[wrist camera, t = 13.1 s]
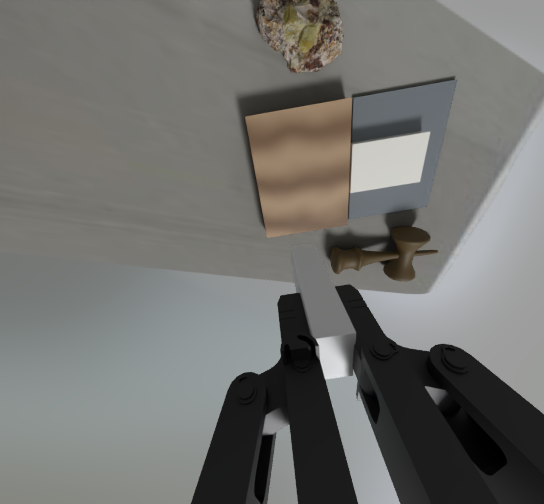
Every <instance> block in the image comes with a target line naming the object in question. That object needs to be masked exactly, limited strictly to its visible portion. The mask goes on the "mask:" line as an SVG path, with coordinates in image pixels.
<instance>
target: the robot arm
mask: <svg viewBox="0 0 544 504" xmlns="http://www.w3.org/2000/svg"><path fill="white" fill-rule="evenodd" d="M290 252H291V260H292V269H293V277H294V283H295V287H296V292H297V293H294V294H287V295H281V296H280V299H279V301H278V312H279V322H280V331H281V340H282V344H281V349H280V351H281V358H280V360H279V361H278V363H277V364H276V365H275V366H274V367H272V368H271V369H269V370H267V371H265V372H263V373H261V374H259V375H258V374H256V373H253V372H247V373H243V374H241V375H239V376H238V377H236V379H235V380H234V381H232V383H231V385H230V387H229V389H228V391H227V394H226V398H225V401H224V404H223V407H222V410H221V413H220V416H219V419H218V422H217V425H216V428H215V431H214V434H213V438H212V441H211V444H210V447H209V450H208V453H207V456H206V459H205V462H204V465H203V469H202V471H201V474H200V477H199V481H198V484H197V487H196V490H195V493H194V496H193V499H192V502H191V504H267V500H268V493H269V485H270V477H271V469H272V462H273V454H274V446H275V439H276V432H277V431H279V430H280V429H282V428H284V427H285V426H287V425H289V424H290V432H291V442H292V451H293V460H294V469H295V479H296V488H297V496H298V504H358V502H357V498H356V494H355V490H354V487H353V483H352V479H351V475H350V471H349V468H348V464H347V460H346V457H345V453H344V449H343V445H342V442H341V438H340V434H339V430H338V426H337V422H336V419H335V415H334V411H333V408H332V404H331V400H330V396H329V392H328V389H327V385H326V381H325V379H331V378H338V377H345V376H352V375H353V369H354V372H355V374H356V377H357V379H358V383H357V393H356V395H357V400H358V401H360V398H361V399H362V402H363V404H364V407H365V410H366V413H367V415H368V418H369V421H370V423H371V426H372V429H373V431H374V434H375V437H376V439H377V442H378V445H379V448H380V450H381V453H382V456H383V458H384V461H385V464H386V466H387V469H388V472H389V474H390V477H391V480H392V482H393V485H394V488H395V490H396V493H397V496H398V498H399V501H400V503H401V504H544V414H543V413H541V412H540V411H539V410H538V409H536V408H535V407H534V406H533V405H532V404H530V403H529V402H528V401H526V400H525V399H524V398H523V397H522V396H521V395H519V394H518V393H517V392H516V391H514V390H513V389H512V388H511V387H509V386H508V385H507V384H506V383H505V382H503V381H502V380H501V379H500V378H498V377H497V376H496V375H495V374H493V373H492V372H491V371H490V370H488V369H487V368H486V367H485V366H484V365H482V364H481V363H480V362H479V361H477V360H476V359H475V358H474V357H472V356H471V355H470V354H468V353H467V352H465V351H464V350H462V349H460V348H458V347H455V346H453V345H447V344H438V345H435V346H434V347H432V348H431V349H430V352H429V351H422V350H416V349H409V348H405V347H402V346H399V345H397V344H396V343H395V342H394V341H393V340H391V339H389V338H388V337H386V335H385V334H384V333H383V331H382V330H381V328H380V326H379V325H378V323H377V321H376V319H375V318H374V316H373V314H372V313H371V311H370V310H369V308H368V307H367V305H366V303H365V301H364V300H363V298H362V296H361V295H360V293H359V291H358V290H357V289H355V288H354V287H353V286H351V285H350V284H349V285H342V286H336V287H335V286H334V284H333V282H332V280H331V278H330V276H329V274H328V272H327V269H326V267H325V265H324V263H323V261H322V259H321V257H320V255H319V252H318V250H317V248H316V246H315V244H314V243H311V244H304V245H298V246H292V247H290Z"/></svg>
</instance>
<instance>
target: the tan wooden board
mask: <svg viewBox="0 0 544 504" xmlns="http://www.w3.org/2000/svg"><path fill="white" fill-rule="evenodd" d="M351 116H352V98H347V99H341V100H335V101H330V102H324V103H318V104H313V105H307V106H302V107H296V108H290V109H285V110H279V111H274V112H268V113H262V114H257V115H251V116H246V117H245V119H246V125H247V130H248V136H249V141H250V147H251V152H252V157H253V163H254V168H255V174H256V179H257V185H258V190H259V196H260V201H261V207H262V212H263V218H264V223H265V228H266V234H267V238H269V237H275V236H281V235H287V234H294V233H300V232H306V231H312V230H319V229H325V228H331V227H337V226H343V225H348V198H349V170H350V143H351Z"/></svg>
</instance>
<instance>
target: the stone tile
mask: <svg viewBox="0 0 544 504" xmlns="http://www.w3.org/2000/svg"><path fill="white" fill-rule="evenodd" d="M429 136H430V131H419V132H413V133H407V134H401V135H395V136H389V137H383V138H377V139H371V140H365V141H359V142H354V143H350V170H349V192H350V193H354V192H361V191H367V190H373V189H379V188H385V187H392V186H398V185H404V184H410V183H416V182H420V179H421V175H422V170H423V165H424V160H425V156H426V151H427V146H428V141H429Z"/></svg>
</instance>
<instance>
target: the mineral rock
mask: <svg viewBox="0 0 544 504" xmlns="http://www.w3.org/2000/svg"><path fill="white" fill-rule="evenodd" d="M256 12H257V15H256V17H255V21H256V23H257V25H258V27H259V32H260V36H261V37H262V38H263V39H264V41H266V43H267V44H268V45H269V46H271V47H273V49H274V50H276V51H280V52H281V53H282V54H283V55H284V57H285V60H287V62H288V68H289V69H290V71H291V72H296V73H300V72H304V71H309V72H317V71H319V70H320V69H321V67H323V66H324V65H326V64H329V63H330V62H331V61H332V60H334V59H335V58H336V57H337V56H339V55H340V53H341V51H342V39H343V37H344V35H343V33H342V30H343V26H342V20H341V17H340V14H339V10H338V5H337V2H336V3H335V2H334V1H333V0H261V1H260V4H259V7H258V8H257V9H256Z"/></svg>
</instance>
